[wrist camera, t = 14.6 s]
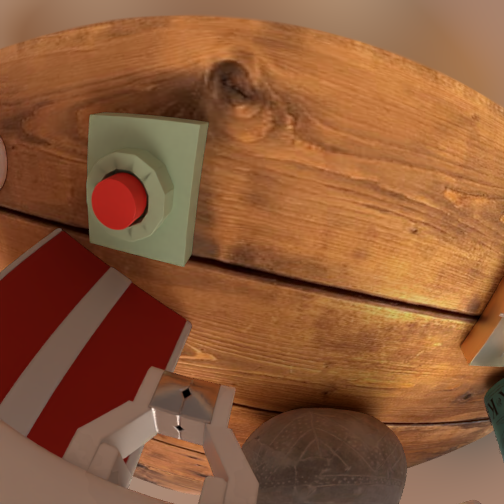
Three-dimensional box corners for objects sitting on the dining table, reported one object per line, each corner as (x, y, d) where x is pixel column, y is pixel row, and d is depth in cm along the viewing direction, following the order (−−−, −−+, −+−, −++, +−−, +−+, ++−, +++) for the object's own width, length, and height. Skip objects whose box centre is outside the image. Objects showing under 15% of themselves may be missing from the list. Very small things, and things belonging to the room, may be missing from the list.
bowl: (249, 449, 42) (235, 529, 28) (233, 374, 32) (204, 496, 19) (376, 447, 39) (382, 526, 25) (415, 369, 29) (443, 485, 16)
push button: (104, 169, 19) (90, 175, 17) (148, 176, 19) (136, 183, 17) (104, 215, 21) (91, 224, 19) (146, 224, 21) (135, 235, 19)
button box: (104, 112, 20) (74, 117, 17) (209, 122, 20) (191, 126, 17) (102, 232, 26) (78, 252, 22) (191, 254, 26) (176, 279, 22)
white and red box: (56, 223, 26) (-131, 411, 2) (196, 324, 29) (97, 594, 6) (38, 313, 33) (-67, 456, 10) (141, 386, 37) (70, 555, 13)
